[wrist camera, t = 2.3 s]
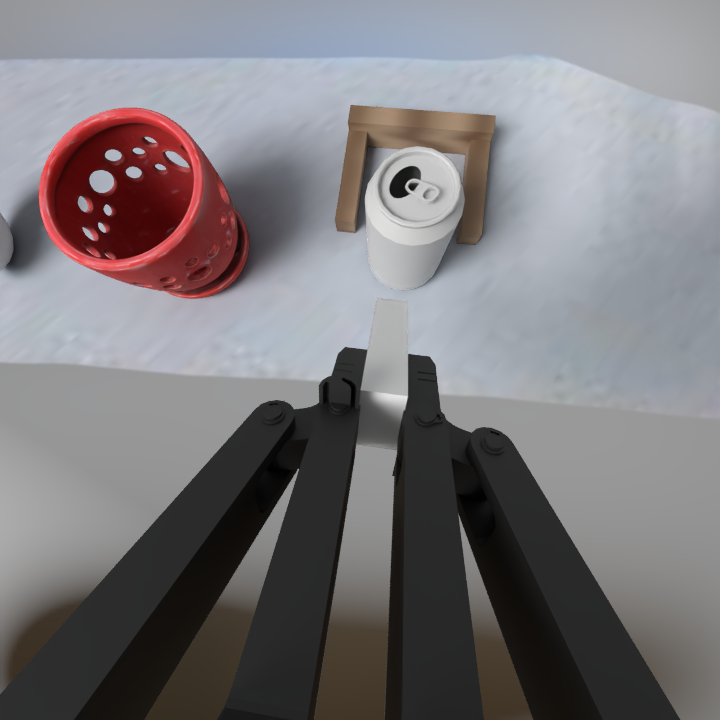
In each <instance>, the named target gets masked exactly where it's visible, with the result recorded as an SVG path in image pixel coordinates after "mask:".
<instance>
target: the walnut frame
mask: <svg viewBox="0 0 720 720" xmlns="http://www.w3.org/2000/svg"><path fill="white" fill-rule="evenodd" d="M348 126H349V133H348V139H347V146H346V153H345V159H344V166H343V172H342V179H341V185H340V192H339V198H338V205H337V211H336V218H335V223H336V227H337V231H343V232H353V233H355V232H356V225H357V218H358V211H359V204H360V197H361V190H362V183H363V176H364V169H365V162H366V155H367V148H368V147H380V148H393V149H404V148H409V147H416V146H420V147H426V148H432V149H434V150H436V151H438V152H442V153H454V154H466V156H465V166H464V176H463V191H464V197H465V202H464V207H463V213H462V216H461V218H460V220H459V225H458V235H457V243H463V244H473V245H476V243H477V242H478V240H479V239H480V237H481V236H482V228H483V217H484V206H485V195H486V184H487V173H488V162H489V151H490V141H491V139H492V136H493V134H494V127H495V116H492V115H479V114H465V113H451V112H438V111H424V110H411V109H397V108H383V107H370V106H356V105H351V107H350V113H349V120H348Z"/></svg>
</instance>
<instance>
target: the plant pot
mask: <svg viewBox="0 0 720 720" xmlns="http://www.w3.org/2000/svg"><path fill="white" fill-rule="evenodd" d="M144 137H151V138H153V139H154V140H156V142H157V143H152V142H149V141H147V140H146V139H145V138H144ZM134 148H141V149H143V150H144V151H145V153H144V154H136V153H134V152H133V151H132V150H133V149H134ZM111 149H115V150H118V151H119V152H121V154H122V157H121V159H119V160H118V161H110V160H108V159H106V158H105V153H106V151H108V150H111ZM166 151H173V152H175V153H177V154H178V155H180V156H181V157H182V158H183V159H184V160H185V161H186V162H187V163H188V165H189V167H190V168H186V167H182V166H179V165H177V164H175V163H174V162H172V161H171V160H170V159H169V158H168V157H167V156H166V154H165V152H166ZM156 164H162V165H163V166H165V167H166V170H159V169H157V168H156V167H155V165H156ZM132 166H134V167H137V168H139V169H140V170H141V171H142V174H141V176H140V177H139V178H131V177H129V176H127V174H126V169H127V168H129V167H132ZM97 170H104V171H108V172H109V173H111V174H112V176H113V178H114V185H113V187H112V189H111V190H110V191H108V192H106V193H98V192H96V191H94V190H93V188H92V187H91V185H90V182H89V178H90V175H91V174H92V173H93V172H94V171H97ZM79 196H82V197H83V198H85V200H86V201H87V204H88V210H87V212H83V211H82V210H81V209H80V208H79V206H78V198H79ZM106 204H107V205H109V206H110V207H111V209H112V213H111V215H110V216H108V215H106V214H105V212H104V210H103V209H104V206H105V205H106ZM39 205H40V212H41V217H42V220H43V223H44V226H45V229H46V231H47V233H48V235H49V236H50V238H51V240H52V241H53V242H54V243H55V245H56V246H57V247H58V248H59V249H60V250H61V251H62V252H63V253H64V254H66V255H67V256H68V257H69V258H71V259H72V260H74V261H75V262H77V263H79V264H81V265H83V266H85V267H87V268H90V269H92V270H94V271H96V272H99V273H101V274H103V275H106V276H108V277H111V278H113V279H116V280H119V281H122V282H125V283H128V284H131V285H135V286H139V287H145V288H149V289H154V290H160V291H166V292H167V293H169V294H172V295H174V296H177V297H182V298H189V299H196V298H204V297H208V296H211V295H214V294H216V293H218V292H220V291H222V290H223V289H225V288H227V287H228V286H229V285H230V284H231V283H232V282H234V280H235V279H236V278H237V277H238V276H239V274H240V273H241V271H242V270H243V267H244V265H245V263H246V260H247V256H248V252H249V237H248V232H247V228H246V225H245V223H244V221H243V219H242V217H241V216H240V214H239V213H238V211H237V210H236V209H235V208H234V207H233V204H232V201H231V199H230V196H229V194H228V191H227V190H226V188H225V186H224V184H223V182H222V180H221V178H220V177H219V175H218V173H217V172H216V170H215V169H214V167H213V166H212V164H211V163H210V161H209V160H208V158H207V157H206V155H205V154H204V152H203V151H202V150H201V148H200V147H199V146H198V145H197V144H196V142H195V141H194V140H193V139H192V137H191V136H190V135H189V134H188V133H187V132H186V131H185V130H184V129H183V128H182V127H181V126H180V125H178V124H177V123H176V122H174V121H173V120H171V119H170V118H168V117H166V116H164V115H162V114H160V113H157V112H154V111H151V110H147V109H142V108H119V109H113V110H109V111H105V112H102V113H99V114H96V115H93V116H91V117H89V118H87V119H86V120H84V121H82V122H80V123H79V124H77V125H76V126H75V127H73V128H72V129H71V130H70V131H69V132H67V133H66V134H65V135H64V136H63V137H62V139H61V140H60V141H59V142H58V143H57V145H56V146H55V147H54V149H53V150H52V152H51V154H50V155H49V157H48V159H47V161H46V164H45V166H44V168H43V172H42V175H41V180H40V186H39ZM99 222H100V223H102V224H103V225H104V227H105V229H106V233H103V232H102V231H101V230H100V229H99V228H98V223H99ZM82 227H84V228H86V229H88V230H89V231H90V232H91V233H92V235H93V238H94V241H93V240H91V239H89V238H88V237H87V236H86V235H85V233H84V232H83V229H82ZM89 251H90V252H91V253H92V254H93V255H92V254H91V253H90V252H89ZM105 254H106V255H108V256H109V258H108V257H107V256H106V255H105Z"/></svg>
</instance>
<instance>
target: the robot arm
mask: <svg viewBox="0 0 720 720" xmlns="http://www.w3.org/2000/svg"><path fill="white" fill-rule="evenodd" d="M356 445H363V446H370V447H378V448H385V449H392V450H396V449H397V457H396V462H395V466H394V471H393V476H395V478H394V502H393V503H394V504H393V526H392V551H391V575H390V600H389V623H388V647H387V671H386V695H385V720H484V717H483V709H482V701H481V694H480V687H479V686H480V685H479V678H478V669H477V662H476V653H475V645H474V637H473V630H472V621H471V613H470V606H469V597H468V589H467V581H466V573H465V565H464V557H463V549H462V541H461V533H460V525H459V517H458V514H459V516H460V519H461V522H462V524H463V527H464V530H465V533H466V536H467V538H468V541H469V544H470V546H471V549H472V552H473V555H474V557H475V560H476V563H477V566H478V569H479V571H480V574H481V577H482V580H483V583H484V585H485V588H486V591H487V594H488V596H489V599H490V602H491V605H492V607H493V610H494V613H495V616H496V618H497V621H498V624H499V627H500V629H501V632H502V635H503V638H504V640H505V643H506V646H507V649H508V651H509V654H510V657H511V660H512V663H513V665H514V668H515V671H516V673H517V676H518V679H519V682H520V684H521V687H522V690H523V693H524V696H525V698H526V701H527V704H528V707H529V709H530V712H531V715H532V718H533V720H680V718H679V717H678V715H677V714H676V712H675V710H674V709H673V707H672V705H671V704H670V702H669V700H668V699H667V697H666V695H665V694H664V692H663V690H662V689H661V687H660V685H659V684H658V682H657V681H656V679H655V677H654V676H653V674H652V672H651V671H650V669H649V667H648V666H647V664H646V662H645V661H644V659H643V657H642V656H641V654H640V652H639V651H638V649H637V648H636V646H635V644H634V643H633V641H632V639H631V638H630V636H629V634H628V633H627V631H626V629H625V628H624V626H623V624H622V623H621V621H620V619H619V618H618V616H617V614H616V613H615V611H614V610H613V608H612V606H611V604H610V603H609V601H608V600H607V598H606V596H605V595H604V593H603V591H602V590H601V588H600V586H599V585H598V583H597V581H596V580H595V578H594V576H593V575H592V573H591V571H590V570H589V568H588V567H587V565H586V563H585V562H584V560H583V558H582V556H581V555H580V553H579V552H578V550H577V548H576V547H575V545H574V543H573V542H572V540H571V538H570V537H569V535H568V533H567V532H566V530H565V528H564V527H563V525H562V523H561V522H560V520H559V519H558V517H557V515H556V513H555V512H554V510H553V509H552V507H551V505H550V504H549V502H548V500H547V499H546V497H545V495H544V494H543V492H542V490H541V489H540V487H539V486H538V484H537V482H536V480H535V479H534V477H533V476H532V474H531V472H530V470H529V469H528V467H527V466H526V464H525V462H524V461H523V459H522V457H521V456H520V454H519V452H518V451H517V449H516V448H515V446H514V444H513V443H512V441H511V440H510V439H509V438H508V437H507V436H506V435H505V434H503V433H502V432H500V431H498V430H495V429H493V428H486V427H482V428H478V429H476V430H475V431H474V432H472V433H470V432H468V431H465V430H463V429H460V428H458V427H456V426H454V425H452V424H451V423H450V422H448V421H447V420H446V418H445V415H444V414H443V413H442V412H441V409H440V401H439V392H438V384H437V375H436V366H435V364H434V362H433V361H432V359H431V358H430V357H428V356H420V355H412V354H408V301H401V300H392V299H383V298H377V300H376V305H375V311H374V317H373V322H372V328H371V334H370V339H369V345H368V350H364V349H356V348H348V347H345V348H344V349H343V350H342V351H341V352H340V353H338V356H337V359H336V364H335V366H334V370H333V373H332V376H329V377H327V378H325V379H324V380H322V382H321V383H320V385H319V403H318V404H317V405H315V406H312V407H308V408H303V409H295V410H294V409H293V407H292V406H291V405H290V404H288V403H286V402H284V401H278V400H275V401H269V402H266V403H263V404H261V405H260V406H259V407H257V408H256V409H255V410H254V411H253V412H252V414H251V415H250V416H249V417H248V418H247V419H246V420H245V421H244V422H243V424H242V425H241V426H240V427H239V428H238V429H237V430H236V431H235V432H234V434H233V435H232V436H231V437H230V438H229V439H228V440H227V442H226V443H225V444H224V445H223V446H222V447H221V448H220V449H219V450H218V451H217V453H216V454H215V455H214V456H213V457H212V458H211V459H210V461H209V462H208V463H207V464H206V465H205V466H204V467H203V468H202V469H201V471H200V472H199V473H198V474H197V475H196V476H195V477H194V478H193V479H192V481H191V482H190V483H189V484H188V485H187V486H186V487H185V488H184V490H183V491H182V492H181V493H180V494H179V495H178V496H177V497H176V498H175V500H174V501H173V502H172V503H171V504H170V505H169V506H168V507H167V509H166V510H165V511H164V512H163V513H162V514H161V515H160V516H159V517H158V519H157V520H156V521H155V522H154V523H153V524H152V525H151V527H150V528H149V529H148V530H147V531H146V532H145V533H144V534H143V536H142V537H141V538H140V539H139V540H138V541H137V542H136V543H135V544H134V546H133V547H132V548H131V549H130V550H129V551H128V552H127V553H126V554H125V555H124V557H123V558H122V559H121V560H120V561H119V562H118V564H116V566H115V567H114V568H113V569H112V570H111V571H110V572H109V573H108V575H107V576H106V577H105V578H104V579H103V580H102V581H101V582H100V584H99V585H98V586H97V587H96V588H95V589H94V590H93V591H92V593H91V594H90V595H89V596H88V597H87V598H86V599H85V600H84V601H83V602H82V604H81V605H80V606H79V607H78V608H77V609H76V611H74V613H73V614H72V615H71V616H70V617H69V618H68V619H67V620H66V621H65V623H64V624H63V625H62V626H61V627H60V628H59V629H58V630H57V632H56V633H55V634H54V635H53V636H52V637H51V638H50V639H49V641H48V642H47V643H46V644H45V645H44V646H43V647H42V648H41V649H40V651H39V652H38V653H37V654H36V655H35V656H34V657H33V658H32V660H31V661H30V662H29V663H28V664H27V665H26V666H25V668H23V670H22V671H21V672H20V673H19V674H18V675H17V676H16V677H15V679H14V680H13V681H12V682H11V683H10V684H9V685H8V686H7V688H6V689H5V690H4V691H3V692H2V693H1V694H0V720H145V718H146V717H147V715H148V713H149V712H150V710H151V708H152V707H153V705H154V703H155V702H156V700H157V699H158V697H159V695H160V694H161V692H162V690H163V689H164V687H165V685H166V684H167V682H168V681H169V679H170V677H171V676H172V674H173V672H174V671H175V669H176V668H177V666H178V664H179V662H180V661H181V659H182V658H183V656H184V654H185V653H186V651H187V650H188V648H189V646H190V645H191V643H192V641H193V640H194V638H195V636H196V635H197V633H198V631H199V630H200V628H201V627H202V625H203V623H204V622H205V620H206V618H207V617H208V615H209V614H210V612H211V610H212V609H213V607H214V605H215V604H216V602H217V600H218V599H219V597H220V596H221V594H222V592H223V591H224V589H225V587H226V586H227V584H228V583H229V581H230V579H231V578H232V576H233V574H234V573H235V571H236V569H237V568H238V566H239V565H240V563H241V561H242V559H243V558H244V556H245V555H246V553H247V551H248V550H249V548H250V546H251V545H252V543H253V542H254V540H255V538H256V537H257V535H258V533H259V532H260V530H261V529H262V527H263V525H264V524H265V522H266V520H267V519H268V517H269V516H270V514H271V512H272V510H273V509H274V507H275V505H276V504H277V502H278V500H279V499H280V497H281V496H282V494H283V493H284V491H285V489H286V488H287V486H288V484H289V483H290V481H291V480H292V478H293V476H294V474H295V473H296V471H297V469H299V472H298V475H297V479H296V481H295V485H294V488H293V491H292V494H291V497H290V501H289V504H288V507H287V511H286V514H285V517H284V520H283V523H282V527H281V530H280V533H279V536H278V540H277V543H276V546H275V549H274V553H273V556H272V559H271V562H270V566H269V569H268V572H267V575H266V579H265V582H264V585H263V588H262V591H261V595H260V598H259V601H258V604H257V608H256V611H255V614H254V617H253V620H252V624H251V627H250V631H249V634H248V637H247V640H246V643H245V646H244V650H243V653H242V656H241V660H240V663H239V666H238V669H237V672H236V675H235V679H234V682H233V685H232V688H231V691H230V694H229V697H228V700H227V702H226V704H225V707H224V709H223V710H222V712H221V714H220V715H219V717H218V719H217V720H314V716H315V710H316V703H317V697H318V691H319V684H320V677H321V671H322V664H323V658H324V652H325V646H326V639H327V632H328V626H329V620H330V613H331V607H332V600H333V594H334V588H335V581H336V575H337V568H338V562H339V555H340V549H341V542H342V536H343V529H344V523H345V517H346V510H347V504H348V497H349V491H350V484H351V478H352V471H353V465H354V459H355V449H356Z"/></svg>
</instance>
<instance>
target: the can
mask: <svg viewBox="0 0 720 720" xmlns="http://www.w3.org/2000/svg"><path fill="white" fill-rule="evenodd" d="M464 202H465V197H464V191H463V185H462V183H461V180H460V174H459V172H458V170H457V169H456V167H455V165H454V163H453V162H452V161H451V160H450V159H449V158H448V157H447V156H445V155H444V154H443V153H441V152H438V151H436V150H434V149H432V148H426V147H420V146H416V147H409V148H404V149H401V150H399V151H397V152H394V153H392V154H391V155H390V156H389V157H388V158H386V159H385V160H384V161H383V162H382V163H381V165H380V167H379V168H378V170H377V171H376V172H375V173H374V175H373V177H372V178H371V180H370V182H369V183H368V186H367V190H366V195H365V211H366V230H367V248H368V261H369V266H370V268H371V271H372V273H373V275H374V276H375V277H376V278H377V279H378V280H379V281H380V282H381V283H382V284H384V285H386V286H388V287H390V288H393V289H398V290H409V289H415V288H417V287H419V286H421V285H424V284H425V283H426V282H427V281H428V280H429V279H430V278H432V276H433V275H434V273H435V271H436V270H437V268H438V266H439V264H440V261H441V259H442V257H443V255H444V253H445V251H446V248H447V246H448V244H449V242H450V240H451V238H452V235H453V233H454V231H455V229H456V227H457V225H458V222H459V220H460V218H461V216H462V213H463V207H464Z"/></svg>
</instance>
